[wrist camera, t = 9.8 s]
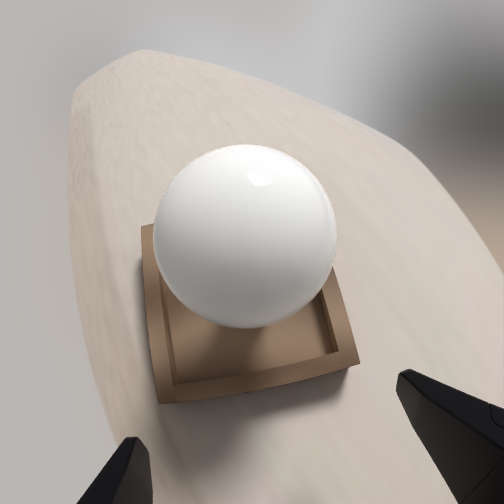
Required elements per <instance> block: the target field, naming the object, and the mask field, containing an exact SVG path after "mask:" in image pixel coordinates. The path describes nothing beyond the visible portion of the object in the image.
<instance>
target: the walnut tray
mask: <svg viewBox="0 0 504 504" xmlns="http://www.w3.org/2000/svg"><path fill="white" fill-rule="evenodd" d="M153 227H154V224H149V225H145V226H141V242H142V264H143V280H144V293H145V305H146V316H147V325H148V334H149V342H150V350H151V357H152V364H153V371H154V377H155V384H156V390H157V395H158V401H159V404H167V403H177V402H186V401H194V400H202V399H209V398H216V397H222V396H228V395H234V394H240V393H245V392H251V391H256V390H261V389H266V388H270V387H275V386H279V385H284V384H288V383H292V382H297V381H301V380H305V379H309V378H312V377H316V376H320V375H324V374H327V373H331V372H334V371H338V370H341V369H344V368H348V367H351V366H354V365H357V364H360V360H359V356H358V352H357V349H356V345H355V341H354V337H353V334H352V330H351V326H350V323H349V319H348V316H347V312H346V309H345V305H344V302H343V299H342V295H341V292H340V288H339V285H338V282H337V279H336V275H335V272H334V269H333V266H332V269H331V272H330V274H329V276H328V278H327V280H326V282H325V284H324V285H323V287H322V288H321V290H320V291H319V292H318V294H317V295H316V296H315V297H314V298H313V300H312V301H311V302H310V303H309V304H308V305H306V306H305V307H304V308H303V309H302V310H300V311H299V312H297V313H296V314H294V315H293V316H291V317H289V318H287V319H285V320H283V321H281V322H279V323H276V324H273V325H269V326H266V327H260V328H252V329H238V328H230V327H225V326H221V325H217V324H214V323H212V322H209V321H207V320H205V319H203V318H201V317H199V316H198V315H196V314H194V313H193V312H192V311H190V310H189V309H188V308H186V307H185V306H184V305H183V304H182V303H181V302H180V301H179V300H178V299H177V298H176V297H175V296H174V294H173V293H172V292H171V291H170V289H169V288H168V286H167V285H166V283H165V281H164V279H163V277H162V275H161V273H160V271H159V268H158V265H157V262H156V258H155V254H154V247H153Z"/></svg>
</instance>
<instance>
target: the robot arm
mask: <svg viewBox="0 0 504 504" xmlns="http://www.w3.org/2000/svg"><path fill="white" fill-rule="evenodd" d="M396 392H397V395H398V397H399V399H400V401H401V403H402V405H403V408H404V410H405V412H406V414H407V416H408V418H409V421H410V423H411V425H412V427H413V428H414V430H415V432H416V433H417V435H418V437H419V438H420V440H421V441H422V443H423V445H424V446H425V448H426V450H427V451H428V453H429V455H430V456H431V458H432V460H433V461H434V463H435V465H436V466H437V468H438V470H439V471H440V473H441V475H442V476H443V478H444V480H445V481H446V483H447V485H448V487H449V488H450V490H451V492H452V494H453V495H454V497H455V499H456V501H457V502H458V504H504V409H503V408H501V407H498V406H495V405H493V404H490V403H489V404H488V402H485V401H483V400H481V399H478V398H476V397H473V396H471V395H469V394H466V393H464V392H462V391H459V390H457V389H455V388H452V387H450V386H448V385H445V384H443V383H441V382H439V381H436V380H434V379H432V378H430V377H427V376H425V375H423V374H421V373H418V372H416V371H414V370H412V369H407V370H404V371H402V372H400V373H399V374H398V380H397V386H396ZM77 504H153V490H152V480H151V470H150V459H149V452H148V450H147V448H146V447H145V446H144V444H143V443H142V442H141V440H140V439H139V438H138V437H126V438H125V439H124V440H123V442H122V443H121V444H120V446H119V447H118V448H117V450H116V451H115V453H114V454H113V455H112V457H111V458H110V459H109V461H108V462H107V463H106V465H105V466H104V467H103V469H102V470H101V472H100V473H99V474H98V476H97V477H96V478H95V480H94V481H93V482H92V484H91V485H90V486H89V488H88V489H87V490H86V492H85V493H84V495H83V496H82V497H81V498H80V500H79V501H78V502H77Z"/></svg>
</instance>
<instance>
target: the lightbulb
mask: <svg viewBox="0 0 504 504" xmlns="http://www.w3.org/2000/svg"><path fill="white" fill-rule="evenodd" d="M153 247H154V254H155V258H156V262H157V265H158V268H159V271H160V273H161V275H162V277H163V279H164V281H165V283H166V285H167V286H168V288H169V289H170V291H171V292H172V293H173V294H174V296H175V297H176V298H177V299H178V300H179V301H180V302H181V303H182V304H183V305H184V306H185V307H186V308H188V309H189V310H190V311H192V312H193V313H194V314H196V315H198V316H199V317H201V318H203V319H205V320H207V321H209V322H212V323H214V324H217V325H221V326H225V327H230V328H238V329H252V328H260V327H266V326H269V325H273V324H276V323H279V322H281V321H283V320H285V319H287V318H289V317H291V316H293V315H294V314H296V313H297V312H299V311H300V310H302V309H303V308H304V307H305V306H306V305H308V304H309V303H310V302H311V301H312V300H313V298H314V297H315V296H316V295H317V294H318V292H319V291H320V290H321V288H322V287H323V285H324V284H325V282H326V280H327V278H328V276H329V274H330V272H331V269H332V266H333V263H334V259H335V255H336V249H337V223H336V217H335V213H334V210H333V206H332V204H331V201H330V199H329V197H328V195H327V193H326V191H325V189H324V188H323V186H322V185H321V183H320V182H319V180H318V179H317V178H316V177H315V176H314V174H313V173H312V172H311V171H310V170H309V169H308V168H307V167H305V166H304V165H303V164H302V163H300V162H299V161H298V160H296V159H295V158H293V157H291V156H289V155H287V154H285V153H283V152H281V151H279V150H276V149H273V148H269V147H265V146H260V145H251V144H240V145H231V146H225V147H221V148H218V149H215V150H212V151H210V152H207V153H205V154H203V155H201V156H199V157H198V158H196V159H195V160H193V161H192V162H190V163H189V164H188V165H186V166H185V167H184V168H183V169H182V170H181V171H180V172H179V173H178V174H177V175H176V176H175V177H174V179H173V180H172V181H171V182H170V184H169V185H168V187H167V188H166V190H165V192H164V194H163V196H162V198H161V200H160V203H159V205H158V208H157V211H156V215H155V220H154V227H153Z"/></svg>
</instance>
